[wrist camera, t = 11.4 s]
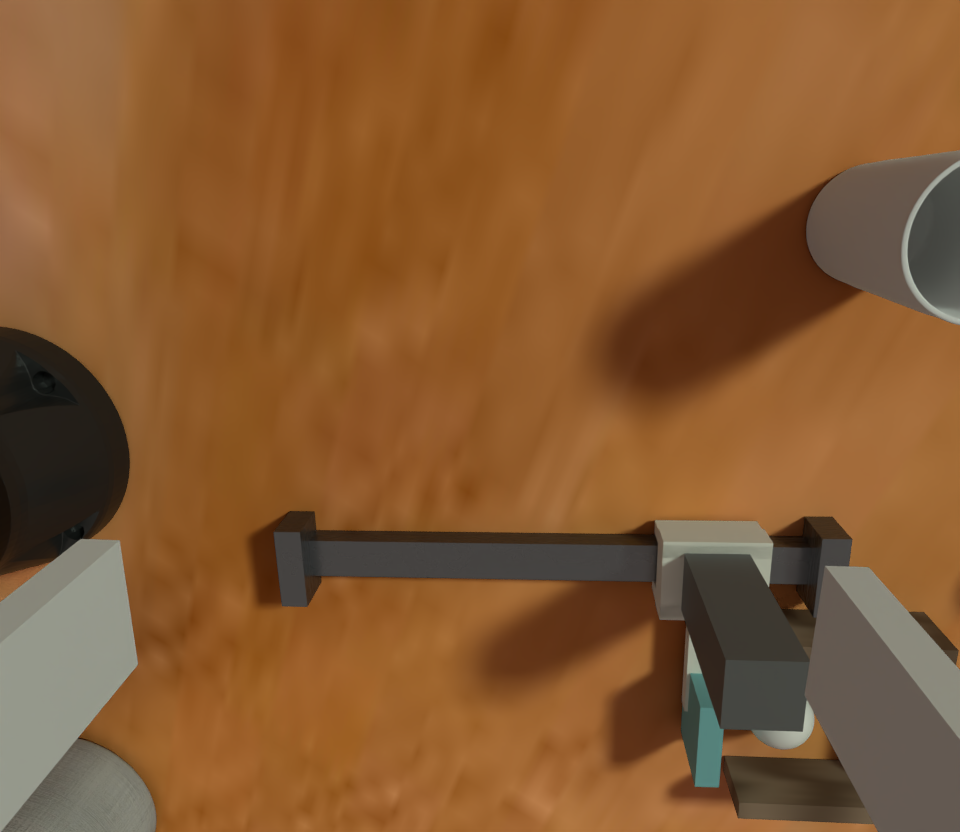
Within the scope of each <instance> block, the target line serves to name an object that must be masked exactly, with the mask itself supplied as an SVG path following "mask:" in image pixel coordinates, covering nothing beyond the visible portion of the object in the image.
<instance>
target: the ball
mask: <svg viewBox="0 0 960 832" xmlns="http://www.w3.org/2000/svg"><path fill="white" fill-rule="evenodd" d="M813 727H814V712H813V710H812V708H811V706H810V704H809V702H808V701H806V709H805V718H804V726H803V732H795V731H766V730H751V731H752V732H753V734H754V735H755V736H756V737H757V738H758V739H759V740H760V741H762V742H763V743H765V744H766V745H768V746H770V747H773V748H777V749H792V748H795V747H798V746H800V745H801V744H803V743H804V742H805V741H806V740H807V739H808V738H809V736H810V735H811V733H812V730H813Z"/></svg>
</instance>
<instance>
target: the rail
mask: <svg viewBox="0 0 960 832" xmlns="http://www.w3.org/2000/svg"><path fill="white" fill-rule="evenodd" d="M769 537H770V539H771V540H772V542H773V551H772V562H771V572H770V582H769V584H797V592H798V594H799V595H800V597H801V599H802V600H803V602H804V603H805V605H806V607H807V608H808V610H809V611H810V613H811V615H812V616H813V618H817V613H818V607H819V600H820V594H821V588H822V581H823V575H824V569H825V566H847V567H849V561H850V553H851V546H852V538H851V537H850V536H849V535H848V534H847V533H846V532H845V531H844V529H843V528H842V527H841V526H840V525H839V524H838V523H837V521H836V520H835V519H834V518H833V517H805V519H804V528H803V536H769ZM274 541H275V550H276V558H277V567H278V576H279V584H280V593H281V602H282V606H296V607H308V605H309V603H310V601H311V600H312V598H313V596H314V594H315V592H316V591H317V589H318V587H319V585H320V584H321V576H359V577H416V578H472V579H528V580H585V581H641V582H656V574H657V553H658V542H657V539H656V536H655V535H650V534H570V533H490V532H410V531H330V530H316V523H315V512H310V511H290V512H289V513H288V514H287V515H286V517H285V518H284V519H283V521H282V522H281V523H280V524H279V526H278V527H277V528H276V529H275V531H274Z"/></svg>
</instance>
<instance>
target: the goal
mask: <svg viewBox="0 0 960 832" xmlns="http://www.w3.org/2000/svg"><path fill="white" fill-rule="evenodd" d="M781 610H782V612H783V613H784V615H785V617H786V619H787V620H788V622H789V624H790V626H791V627H792V629H793V631H794V633H795V635H796V636H797V638H798V640H799V642H800V643H801V645H802V647H803V649H804V650H805V652H806V654H807V656H808V658H809V659H810V657H811V651H812V644H813V638H814V632H815V625H816V619H817V618H813V616H812V615H811V613H810V611H809V610H793V609H781ZM909 613H910V614H911V616H912V617H913V618H914V619H915V620H916V621H917V622H918V623H919V625H920V626H921V627H922V628H923V629H924V630H925V631H926V632H927V634H928V635H929V636H930V637H931V638H932V639H933V640H934V641H935V643H936V644H937V645H938V646H939V647H940V648H941V649H942V650H943V652H944V653H945V654H946V655H947V656H948V657H949V658H950V660H951V661H952V662H953V663H954V664H955V665H956V662H957V656H958V649H957V648H956V647H955V646H954V645H953V644H952V643H951V642H950V640H949V639H948V638H947V637H946V636H945V635H944V634H943V633H942V632H941V630H940V629H939V628H938V627H937V626H936V625H935V624H934V623H933V622H932V620H931V619H930V618H929V617H928V616H927V615H926V614H925V613H924V612H909ZM723 771H724V774H725V778H726V781H727V784H728V787H729V791H730V794H731V797H732V800H733V803H734V807H735V810H736V813H737V816H738V818H744V819H767V820H790V821H813V822H836V823H859V824H874V823H873V821H872V819H871V818H870V816H869V814H868V812H867V810H866V808H865V806H864V805H863V803H862V801H861V799H860V797H859V795H858V793H857V792H856V790H855V788H854V786H853V784H852V782H851V780H850V779H849V777H848V775H847V773H846V771H845V769H844V767H843V766H842V764H841V762H840V760H821V759H794V758H767V757H740V756H725V757H724V769H723Z"/></svg>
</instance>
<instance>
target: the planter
mask: <svg viewBox="0 0 960 832" xmlns="http://www.w3.org/2000/svg"><path fill="white" fill-rule="evenodd" d="M155 830H156V810H155V805H154V802H153V799H152V797H151V794H150V792H149V790H148V788H147V786H146V785H145V783H144V782H143V780H142V779H141V778H140V776H139V775H138V774H137V772H136V771H135V770H134V769H133V768H132V767H131V766H130V765H129V764H128V763H127V762H125V761H124V760H123V759H122V758H120V757H119V756H118V755H116V754H115V753H113V752H112V751H110V750H108V749H106V748H104V747H102V746H100V745H97V744H95V743H93V742H90V741H87V740H83V739H78V738H77V740H76V741H75V742H74V743H73V744H72V746H71V747H70V748H69V749H68V751H67V752H66V753H65V754H64V755H63V757H62V758H61V759H60V760H59V761H58V763H57V764H56V765H55V766H54V768H53V769H52V770H51V771H50V772H49V774H48V775H47V776H46V777H45V779H44V780H43V781H42V782H41V783H40V785H39V786H38V787H37V788H36V790H35V791H34V792H33V793H32V794H31V796H30V797H29V798H28V799H27V801H26V802H25V803H24V804H23V805H22V807H21V808H20V809H19V810H18V812H17V813H16V814H15V815H14V816H13V818H12V819H11V820H10V821H9V823H8V824H7V825H6V826H5V827H4V829H3V830H2V831H1V832H155Z"/></svg>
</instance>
